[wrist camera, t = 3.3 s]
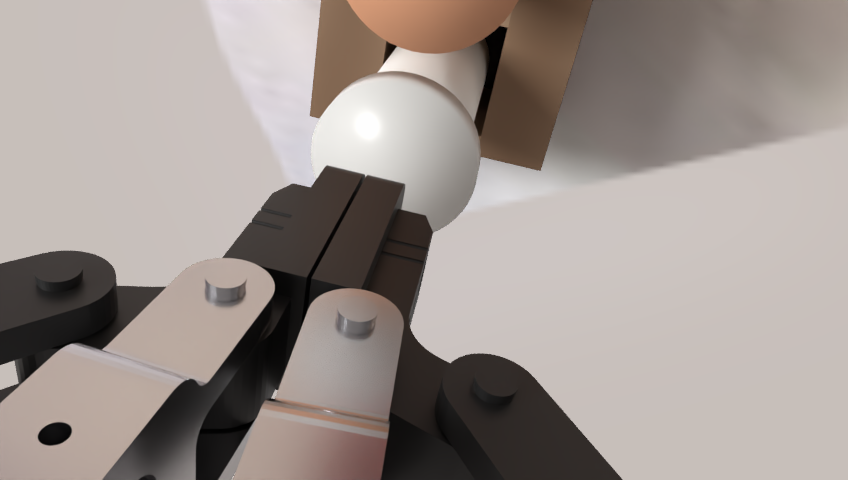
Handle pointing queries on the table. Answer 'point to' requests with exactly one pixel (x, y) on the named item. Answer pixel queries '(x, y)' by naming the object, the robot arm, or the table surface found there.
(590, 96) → the table surface
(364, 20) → the plug terracotta
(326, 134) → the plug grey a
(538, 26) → the walnut block
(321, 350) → the robot arm
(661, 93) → the table surface
